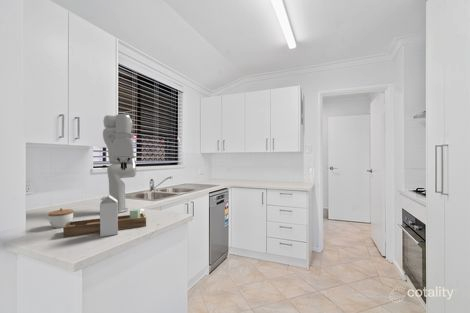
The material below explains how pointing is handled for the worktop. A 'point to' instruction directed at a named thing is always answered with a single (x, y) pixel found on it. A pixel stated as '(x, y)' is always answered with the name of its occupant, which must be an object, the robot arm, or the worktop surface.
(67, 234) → the box
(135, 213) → the block
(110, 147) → the robot arm
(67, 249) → the worktop surface
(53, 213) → the lidded jar
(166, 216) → the worktop surface
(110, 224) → the milk carton
